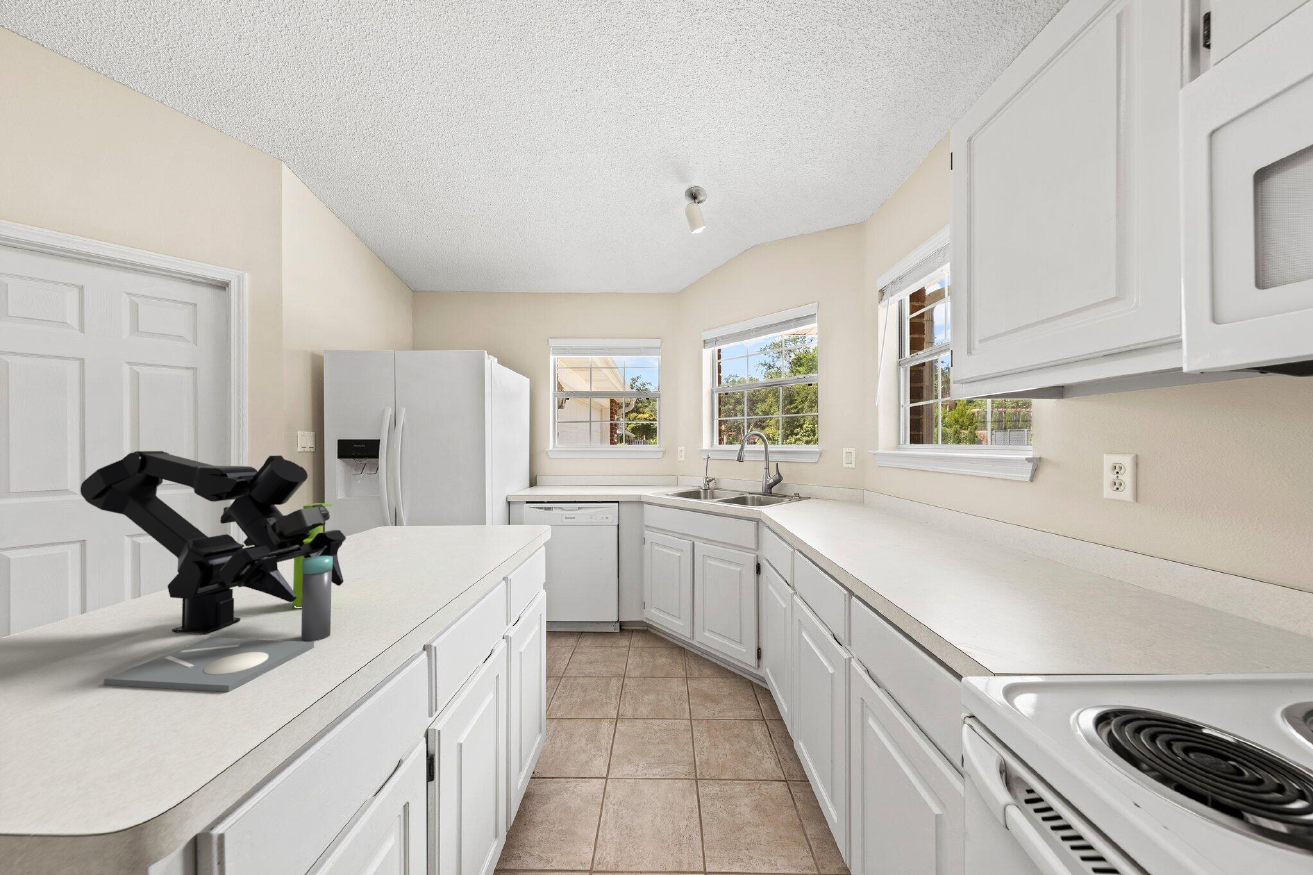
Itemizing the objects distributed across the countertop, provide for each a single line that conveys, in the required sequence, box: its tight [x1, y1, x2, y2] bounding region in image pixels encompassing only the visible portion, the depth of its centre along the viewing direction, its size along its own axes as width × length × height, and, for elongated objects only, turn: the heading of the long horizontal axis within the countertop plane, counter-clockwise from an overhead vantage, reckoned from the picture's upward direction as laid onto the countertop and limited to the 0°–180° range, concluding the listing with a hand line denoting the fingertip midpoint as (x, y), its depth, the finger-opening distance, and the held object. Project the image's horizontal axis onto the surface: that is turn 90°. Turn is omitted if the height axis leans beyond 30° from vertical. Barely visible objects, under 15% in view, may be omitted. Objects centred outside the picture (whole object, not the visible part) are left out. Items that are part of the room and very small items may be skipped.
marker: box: [300, 556, 333, 642], centre depth 81 cm, size 4×4×13 cm
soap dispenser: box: [292, 502, 333, 607], centre depth 98 cm, size 6×7×20 cm
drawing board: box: [103, 636, 315, 693], centre depth 71 cm, size 18×14×1 cm
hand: (318, 591), depth 81 cm, fingers open, 9 cm apart
